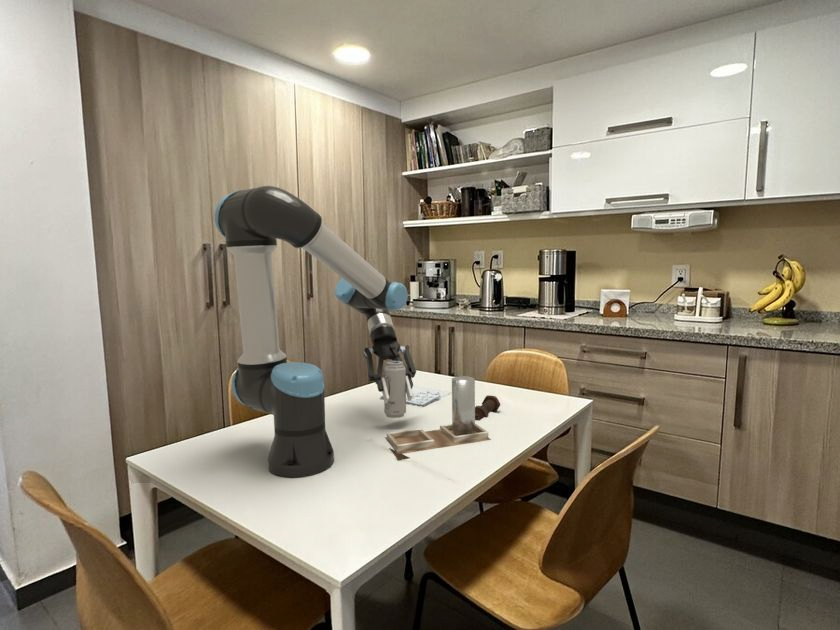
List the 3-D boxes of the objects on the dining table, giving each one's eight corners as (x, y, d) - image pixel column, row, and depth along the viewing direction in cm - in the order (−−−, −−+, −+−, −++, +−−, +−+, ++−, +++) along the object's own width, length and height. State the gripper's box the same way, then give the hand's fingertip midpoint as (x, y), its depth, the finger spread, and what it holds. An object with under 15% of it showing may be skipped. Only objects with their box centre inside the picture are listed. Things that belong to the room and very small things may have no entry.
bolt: (472, 430, 138) (490, 414, 151) (486, 424, 136) (503, 408, 149) (462, 412, 139) (481, 398, 152) (476, 406, 137) (494, 392, 150)
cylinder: (463, 440, 122) (463, 383, 120) (447, 434, 126) (446, 378, 125) (479, 434, 125) (479, 379, 124) (463, 428, 130) (463, 375, 128)
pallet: (398, 460, 114) (398, 448, 113) (384, 442, 125) (384, 431, 125) (491, 445, 122) (491, 433, 122) (470, 430, 133) (470, 419, 133)
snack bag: (378, 400, 166) (378, 394, 166) (412, 387, 183) (412, 382, 182) (422, 409, 155) (422, 402, 155) (455, 394, 172) (455, 389, 171)
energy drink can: (380, 414, 134) (379, 362, 132) (398, 410, 137) (397, 359, 136) (392, 420, 129) (391, 365, 127) (410, 415, 132) (409, 362, 131)
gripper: (409, 338, 149) (428, 403, 135) (349, 341, 142) (362, 410, 129) (414, 323, 143) (435, 389, 129) (352, 326, 137) (366, 395, 123)
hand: (398, 399), depth 129 cm, fingers closed on energy drink can, 6 cm apart
